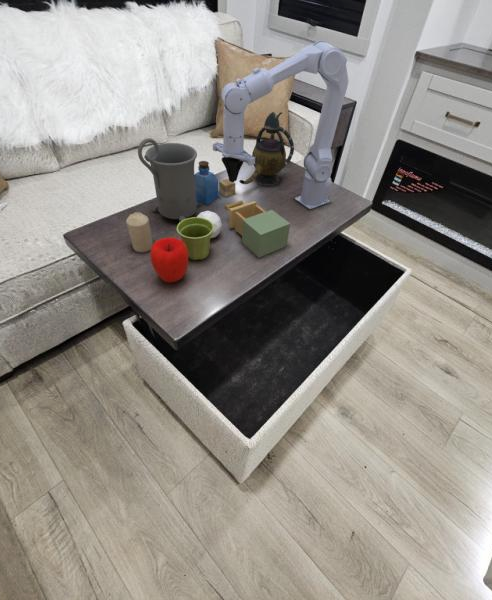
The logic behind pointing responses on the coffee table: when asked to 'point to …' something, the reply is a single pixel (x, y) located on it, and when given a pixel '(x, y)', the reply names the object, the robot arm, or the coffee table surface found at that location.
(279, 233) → the sage green box
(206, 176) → the perfume bottle
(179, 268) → the apple
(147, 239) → the candle
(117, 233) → the coffee table surface
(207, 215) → the geometric ball
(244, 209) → the drawer
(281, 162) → the teapot
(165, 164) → the mug
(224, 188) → the block
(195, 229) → the plant pot
